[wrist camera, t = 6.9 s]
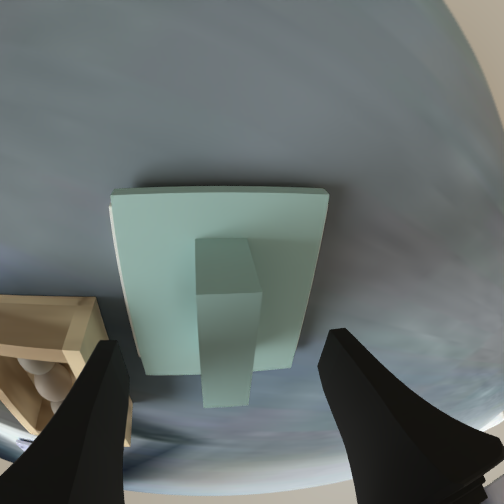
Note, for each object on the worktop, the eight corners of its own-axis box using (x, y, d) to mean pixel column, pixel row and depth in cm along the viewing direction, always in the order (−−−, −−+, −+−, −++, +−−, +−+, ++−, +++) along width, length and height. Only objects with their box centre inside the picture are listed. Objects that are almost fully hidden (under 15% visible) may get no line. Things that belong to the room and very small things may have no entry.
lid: (288, 358, 16) (305, 415, 13) (146, 365, 15) (143, 426, 12) (323, 188, 11) (368, 237, 8) (114, 188, 10) (83, 242, 7)
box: (132, 403, 18) (130, 447, 15) (39, 395, 16) (30, 433, 14) (96, 296, 13) (79, 351, 10) (-18, 293, 12) (-44, 337, 9)
